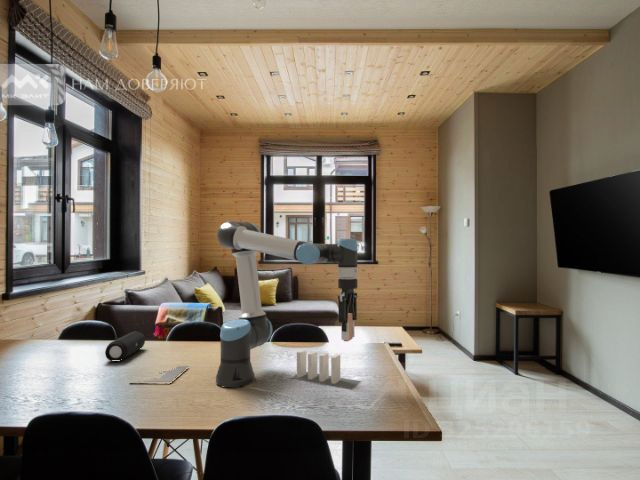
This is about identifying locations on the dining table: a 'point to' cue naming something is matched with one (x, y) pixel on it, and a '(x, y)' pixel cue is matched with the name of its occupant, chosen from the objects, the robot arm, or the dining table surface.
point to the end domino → (350, 327)
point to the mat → (342, 383)
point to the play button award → (169, 375)
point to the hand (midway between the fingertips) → (348, 338)
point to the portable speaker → (125, 346)
